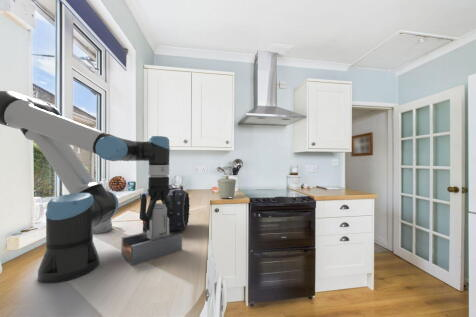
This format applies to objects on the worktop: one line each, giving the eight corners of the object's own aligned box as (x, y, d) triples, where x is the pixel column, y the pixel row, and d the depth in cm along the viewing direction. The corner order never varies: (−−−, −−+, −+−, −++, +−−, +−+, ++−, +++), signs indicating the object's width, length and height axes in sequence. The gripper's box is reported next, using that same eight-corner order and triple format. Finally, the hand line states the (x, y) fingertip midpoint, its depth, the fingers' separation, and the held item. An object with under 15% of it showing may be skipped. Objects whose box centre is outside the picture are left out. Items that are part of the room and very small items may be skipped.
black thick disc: (190, 223, 118) (190, 187, 118) (183, 236, 98) (183, 192, 98) (170, 223, 117) (170, 187, 117) (159, 236, 97) (159, 192, 97)
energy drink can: (163, 246, 79) (164, 206, 80) (147, 246, 79) (148, 205, 80) (168, 240, 85) (169, 203, 86) (153, 240, 85) (154, 202, 86)
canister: (215, 197, 205) (215, 175, 205) (233, 196, 210) (233, 174, 211) (219, 200, 188) (219, 176, 188) (238, 199, 193) (238, 176, 193)
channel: (132, 265, 70) (132, 246, 70) (121, 254, 79) (121, 237, 79) (181, 249, 82) (181, 233, 83) (167, 241, 91) (167, 226, 91)
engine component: (85, 234, 100) (109, 231, 104) (85, 191, 101) (110, 189, 104) (91, 227, 111) (113, 225, 114) (91, 188, 111) (113, 187, 115)
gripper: (137, 177, 74) (135, 245, 73) (185, 175, 87) (184, 232, 86) (129, 176, 79) (128, 239, 79) (176, 174, 92) (175, 228, 92)
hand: (158, 235), depth 82 cm, fingers closed on energy drink can, 6 cm apart
